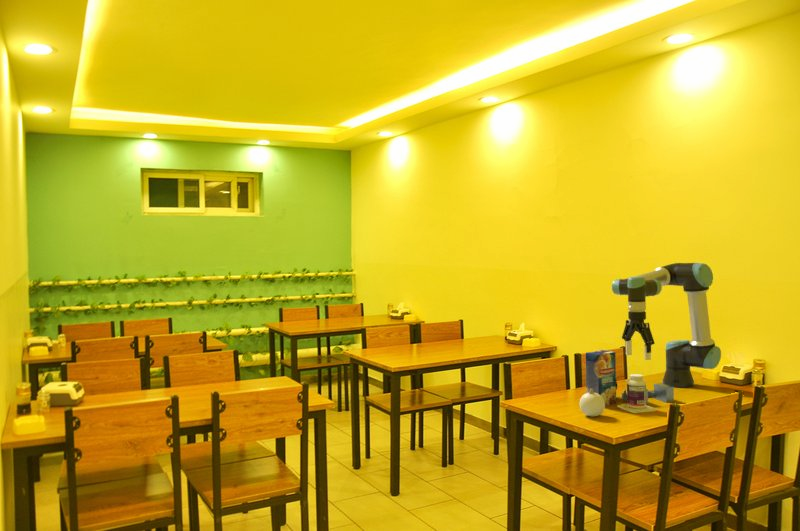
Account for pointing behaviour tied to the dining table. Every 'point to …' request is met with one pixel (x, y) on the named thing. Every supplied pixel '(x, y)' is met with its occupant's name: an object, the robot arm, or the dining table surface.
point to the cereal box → (601, 374)
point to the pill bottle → (636, 392)
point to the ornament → (592, 404)
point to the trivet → (634, 410)
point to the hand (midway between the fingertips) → (638, 357)
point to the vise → (657, 393)
